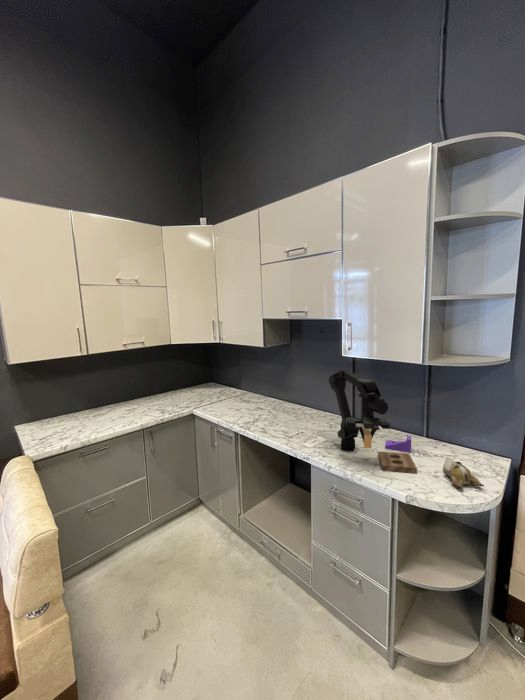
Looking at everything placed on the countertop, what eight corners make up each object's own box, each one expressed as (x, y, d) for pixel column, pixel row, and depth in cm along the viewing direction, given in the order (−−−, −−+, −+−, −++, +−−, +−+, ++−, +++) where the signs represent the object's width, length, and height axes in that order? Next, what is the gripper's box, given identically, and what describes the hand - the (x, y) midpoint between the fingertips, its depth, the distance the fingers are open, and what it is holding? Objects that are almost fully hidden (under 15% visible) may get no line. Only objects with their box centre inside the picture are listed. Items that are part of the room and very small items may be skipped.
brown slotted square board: (382, 470, 136) (382, 465, 135) (377, 456, 149) (377, 451, 149) (416, 473, 133) (417, 468, 132) (408, 458, 146) (408, 453, 146)
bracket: (410, 447, 158) (411, 435, 158) (410, 453, 152) (411, 440, 151) (385, 443, 164) (386, 431, 163) (384, 449, 157) (385, 436, 157)
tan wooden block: (364, 448, 140) (364, 434, 139) (362, 441, 147) (362, 428, 147) (371, 448, 139) (371, 435, 138) (369, 441, 147) (369, 428, 146)
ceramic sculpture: (459, 452, 132) (487, 472, 118) (457, 470, 134) (484, 492, 119) (435, 454, 131) (461, 474, 117) (434, 472, 133) (459, 494, 118)
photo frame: (309, 447, 160) (285, 437, 173) (309, 449, 160) (285, 439, 173) (327, 439, 169) (302, 430, 183) (327, 441, 169) (302, 432, 183)
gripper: (347, 412, 135) (347, 446, 137) (392, 414, 131) (391, 449, 133) (346, 405, 146) (345, 436, 148) (387, 406, 142) (387, 439, 144)
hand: (366, 440), depth 143 cm, fingers closed on tan wooden block, 3 cm apart
